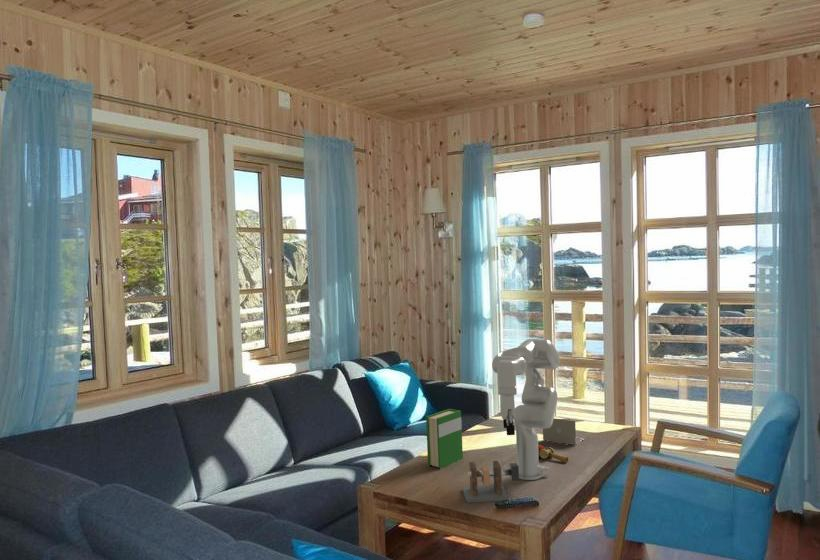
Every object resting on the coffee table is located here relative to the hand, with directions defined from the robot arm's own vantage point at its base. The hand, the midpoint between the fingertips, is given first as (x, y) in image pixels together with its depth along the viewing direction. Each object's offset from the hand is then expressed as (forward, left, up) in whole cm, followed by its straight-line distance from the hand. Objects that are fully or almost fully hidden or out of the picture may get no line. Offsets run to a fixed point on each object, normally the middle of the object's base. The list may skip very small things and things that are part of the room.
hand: (509, 431), depth 258 cm
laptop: (-41, -70, -27) cm, 86 cm away
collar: (+10, 0, -21) cm, 23 cm away
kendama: (-27, -41, -27) cm, 56 cm away
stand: (+10, 0, -25) cm, 27 cm away
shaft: (+7, 0, -20) cm, 21 cm away
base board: (+10, 0, -26) cm, 28 cm away
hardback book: (+23, -43, -26) cm, 56 cm away
